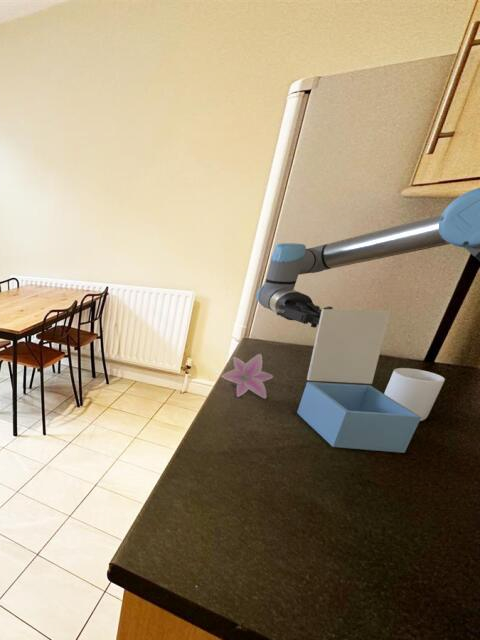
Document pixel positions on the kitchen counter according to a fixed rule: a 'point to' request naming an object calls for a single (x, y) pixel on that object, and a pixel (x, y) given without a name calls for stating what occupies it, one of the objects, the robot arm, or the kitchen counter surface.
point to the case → (357, 417)
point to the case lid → (348, 345)
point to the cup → (414, 389)
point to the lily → (248, 376)
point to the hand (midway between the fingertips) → (338, 327)
